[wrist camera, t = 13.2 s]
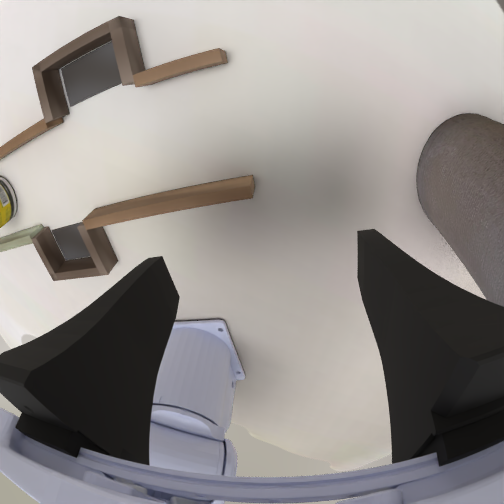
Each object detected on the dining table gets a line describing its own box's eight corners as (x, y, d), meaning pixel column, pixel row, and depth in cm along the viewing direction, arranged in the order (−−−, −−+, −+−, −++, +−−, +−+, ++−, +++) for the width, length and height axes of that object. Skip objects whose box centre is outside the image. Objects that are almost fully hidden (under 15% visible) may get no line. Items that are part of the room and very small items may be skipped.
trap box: (266, 240, 22) (264, 256, 20) (4, 277, 27) (-5, 287, 26) (211, -7, 12) (203, -15, 11) (-50, 151, 18) (-62, 157, 16)
